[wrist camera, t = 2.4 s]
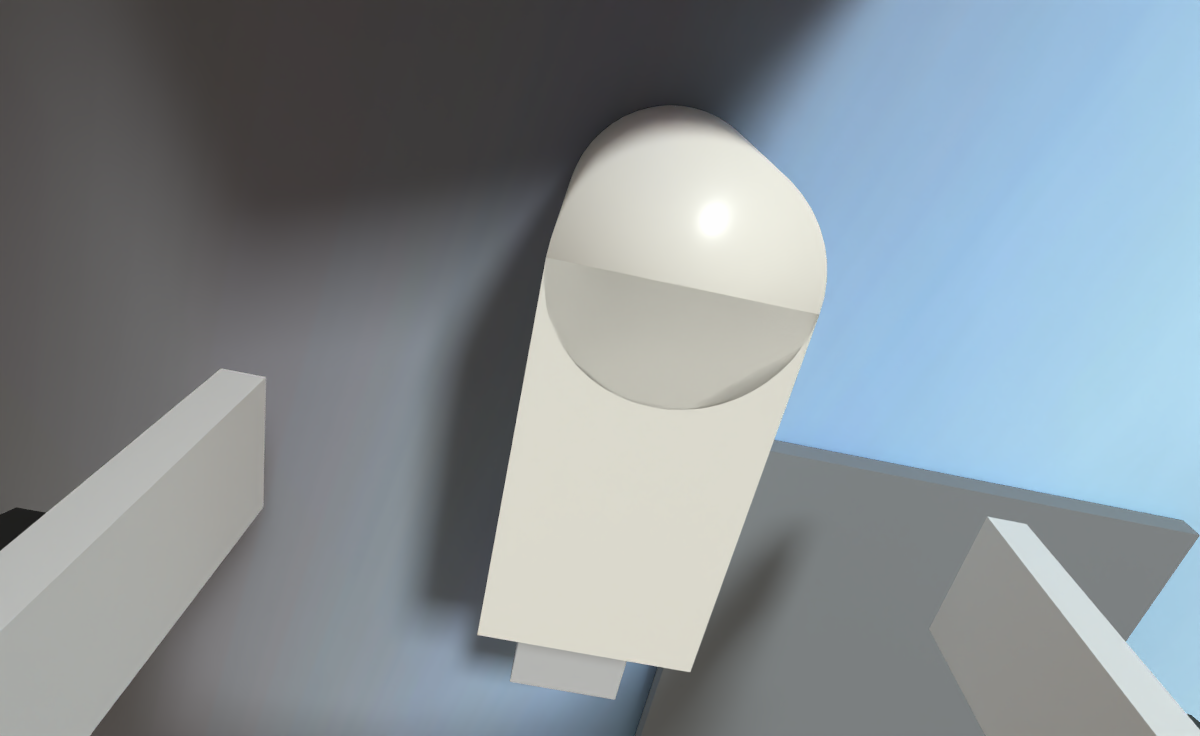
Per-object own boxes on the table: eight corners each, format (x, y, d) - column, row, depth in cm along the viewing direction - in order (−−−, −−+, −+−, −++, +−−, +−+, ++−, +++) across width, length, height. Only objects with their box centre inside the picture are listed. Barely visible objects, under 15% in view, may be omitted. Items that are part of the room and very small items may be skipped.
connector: (588, 84, 15) (572, 110, 10) (795, 130, 15) (869, 176, 11) (493, 583, 21) (458, 741, 16) (646, 611, 21) (653, 773, 16)
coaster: (735, 432, 18) (739, 444, 18) (1183, 520, 19) (1199, 535, 18) (629, 751, 23) (629, 769, 23) (986, 811, 24) (994, 830, 24)
